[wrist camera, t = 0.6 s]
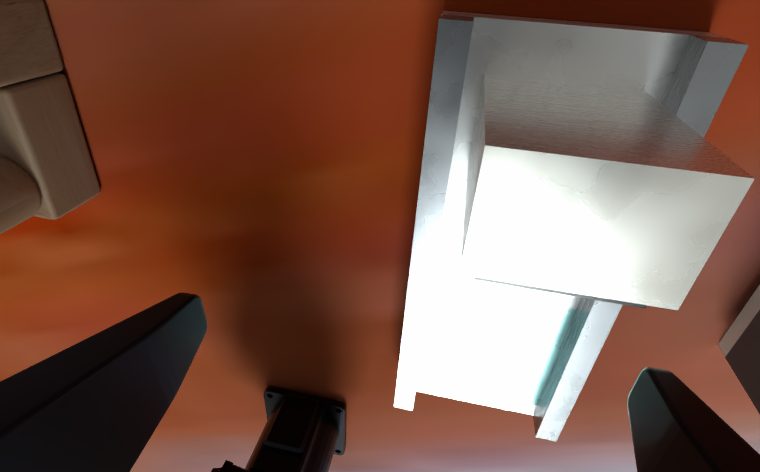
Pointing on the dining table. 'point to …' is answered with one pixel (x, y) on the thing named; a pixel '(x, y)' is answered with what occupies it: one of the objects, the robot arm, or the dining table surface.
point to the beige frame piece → (38, 122)
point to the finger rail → (557, 201)
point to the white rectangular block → (745, 347)
